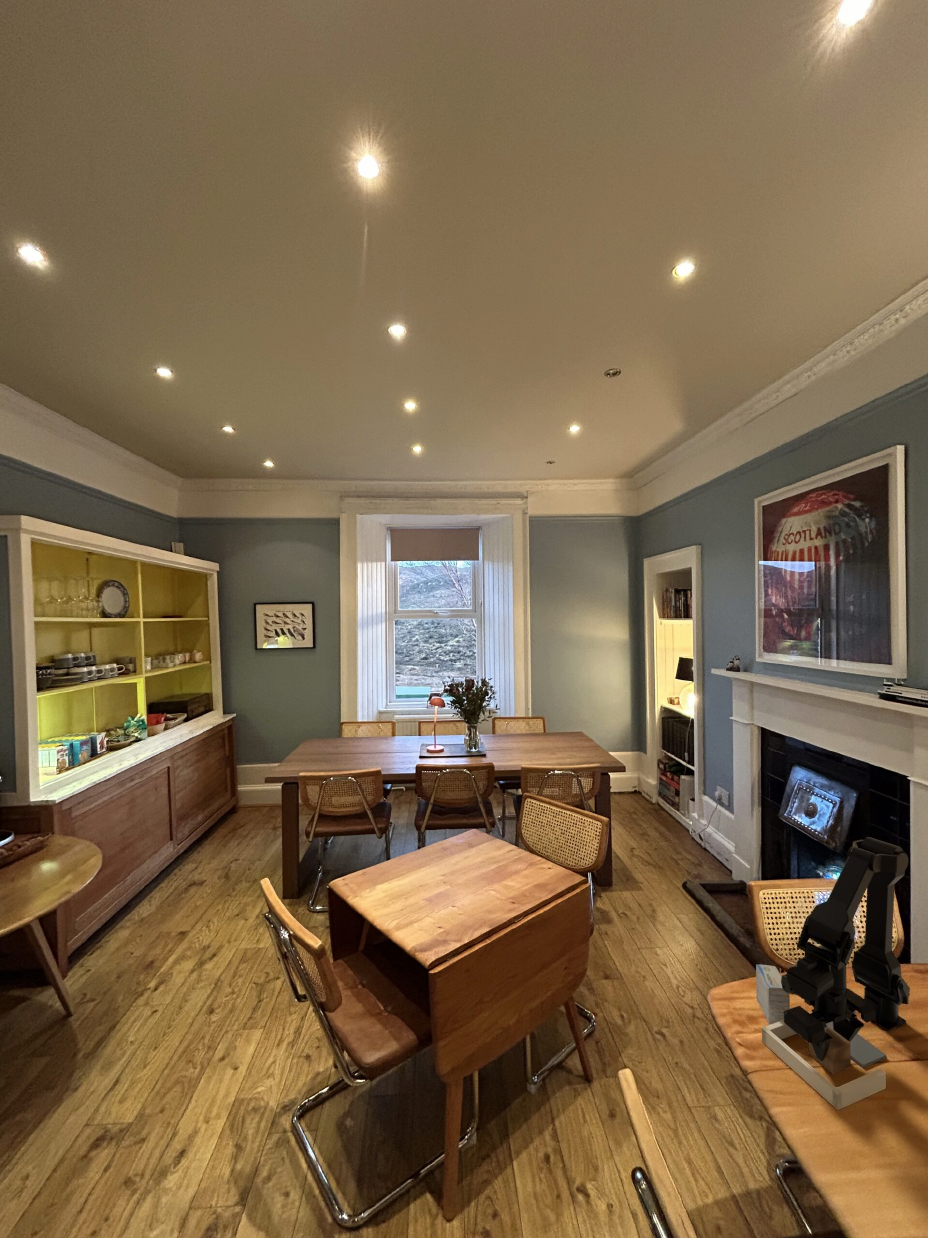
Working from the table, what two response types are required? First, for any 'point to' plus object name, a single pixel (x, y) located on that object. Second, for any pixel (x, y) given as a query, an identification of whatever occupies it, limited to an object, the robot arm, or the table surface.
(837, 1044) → the walnut block
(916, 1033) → the table surface
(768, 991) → the medicine box
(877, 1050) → the slate coaster
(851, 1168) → the table surface
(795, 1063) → the white u-shaped frame
